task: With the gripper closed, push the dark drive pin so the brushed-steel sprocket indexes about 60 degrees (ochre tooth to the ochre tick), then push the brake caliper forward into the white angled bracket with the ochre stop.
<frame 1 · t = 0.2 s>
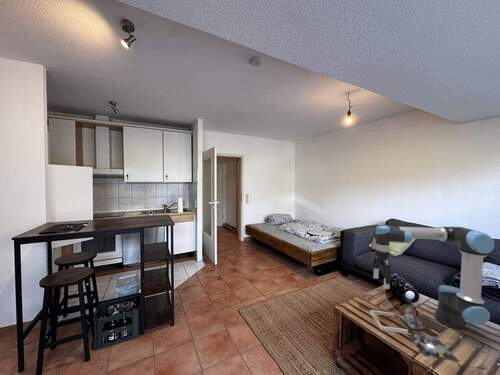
hand: (380, 283, 130), 27 cm above the table, fingers open, 13 cm apart
white angled bracket: (388, 323, 132), on the table
index plate: (431, 347, 113), on the table
sprocket: (431, 340, 113), point 4 cm above the table, hinge at 0.0°
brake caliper: (412, 327, 130), on the table
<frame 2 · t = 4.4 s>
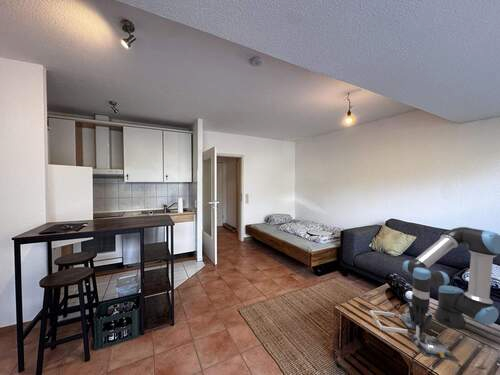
hand: (418, 336, 115), 4 cm above the table, fingers closed
sprocket: (431, 340, 113), point 4 cm above the table, hinge at 3.6°, touching gripper
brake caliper: (410, 326, 130), on the table
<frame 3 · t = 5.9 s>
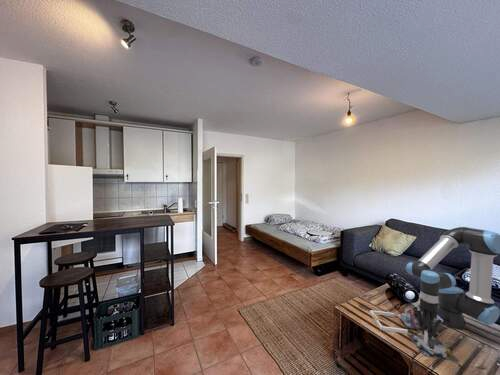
hand: (427, 342, 111), 4 cm above the table, fingers closed
sprocket: (431, 340, 113), point 4 cm above the table, hinge at 58.4°, touching gripper
everything else where it was.
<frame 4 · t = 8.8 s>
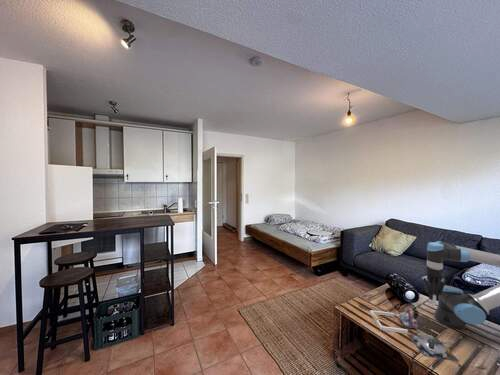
hand: (432, 304, 127), 16 cm above the table, fingers closed
sprocket: (431, 340, 113), point 4 cm above the table, hinge at 58.4°
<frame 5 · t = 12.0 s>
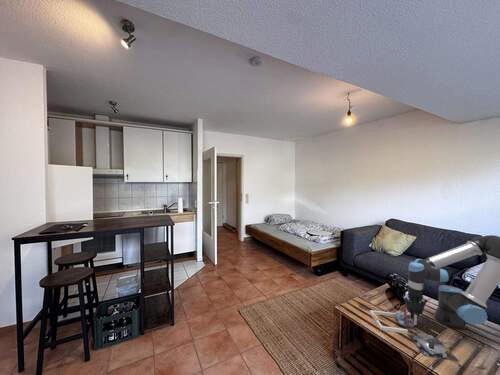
hand: (414, 323, 129), 2 cm above the table, fingers closed
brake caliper: (403, 324, 132), on the table, touching gripper
everything else where it was.
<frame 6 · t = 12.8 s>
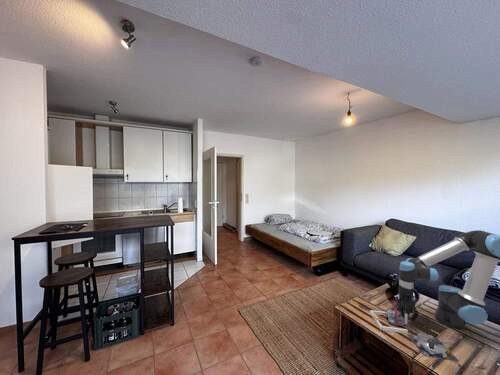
hand: (404, 322, 130), 2 cm above the table, fingers closed
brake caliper: (394, 322, 133), on the table, touching gripper
everything else where it was.
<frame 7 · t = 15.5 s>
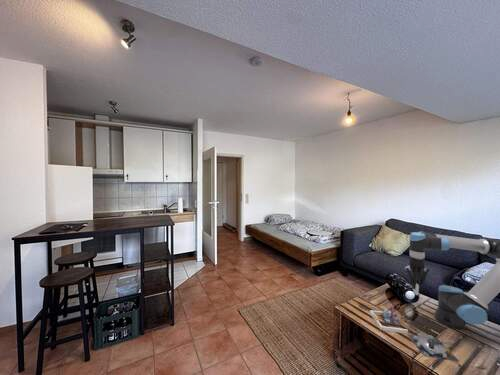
hand: (415, 293, 129), 22 cm above the table, fingers closed
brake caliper: (390, 322, 133), on the table
everything else where it was.
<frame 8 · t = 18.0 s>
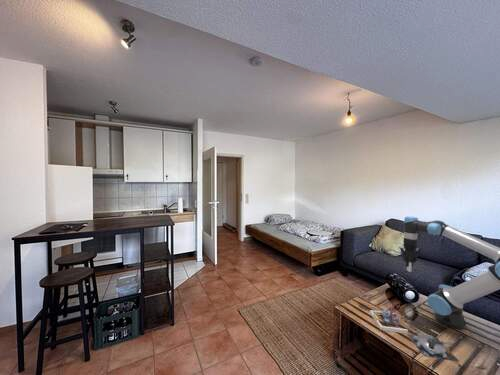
hand: (409, 271, 145), 29 cm above the table, fingers closed
nothing on the table moved.
at the end: sprocket at +58° (first picture: +0°); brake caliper inside the target area (2.6 cm from its centre), on the table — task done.
